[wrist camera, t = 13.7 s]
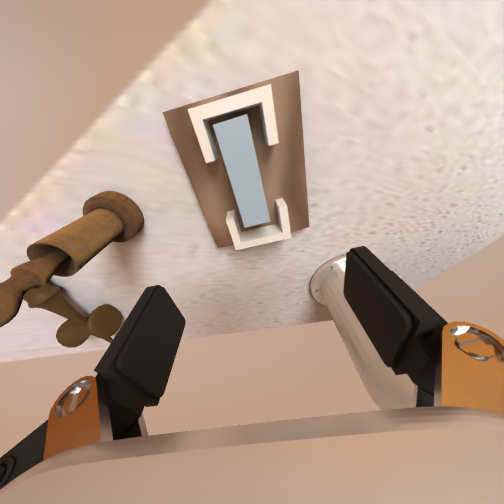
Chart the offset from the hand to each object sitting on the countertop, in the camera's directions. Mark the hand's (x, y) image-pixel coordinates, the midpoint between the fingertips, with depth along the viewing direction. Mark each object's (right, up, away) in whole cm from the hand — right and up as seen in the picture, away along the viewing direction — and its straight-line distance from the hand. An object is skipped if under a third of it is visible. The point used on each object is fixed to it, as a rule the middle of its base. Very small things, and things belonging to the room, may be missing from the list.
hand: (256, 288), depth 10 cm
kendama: (-33, -8, +27) cm, 43 cm away
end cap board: (-1, +12, +15) cm, 19 cm away
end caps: (-1, +11, +13) cm, 17 cm away
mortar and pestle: (-19, +7, +17) cm, 26 cm away
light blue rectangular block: (-1, +12, +13) cm, 17 cm away
